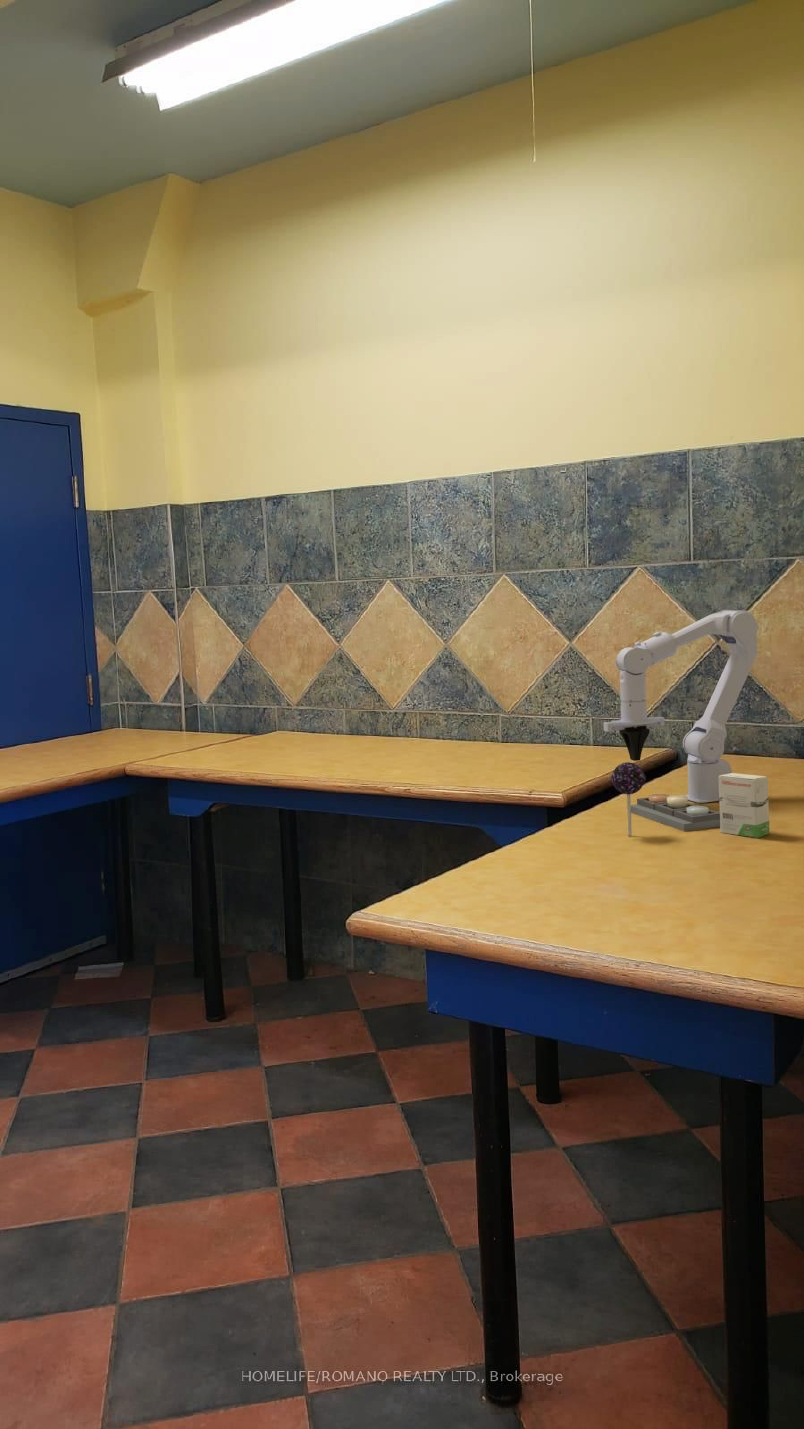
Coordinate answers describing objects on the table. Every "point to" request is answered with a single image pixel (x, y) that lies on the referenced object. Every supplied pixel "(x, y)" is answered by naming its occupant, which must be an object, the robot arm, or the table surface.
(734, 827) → the ink box
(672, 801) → the cream button
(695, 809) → the blue-grey button
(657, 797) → the terracotta button
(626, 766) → the lollipop
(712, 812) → the panel
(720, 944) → the table surface
